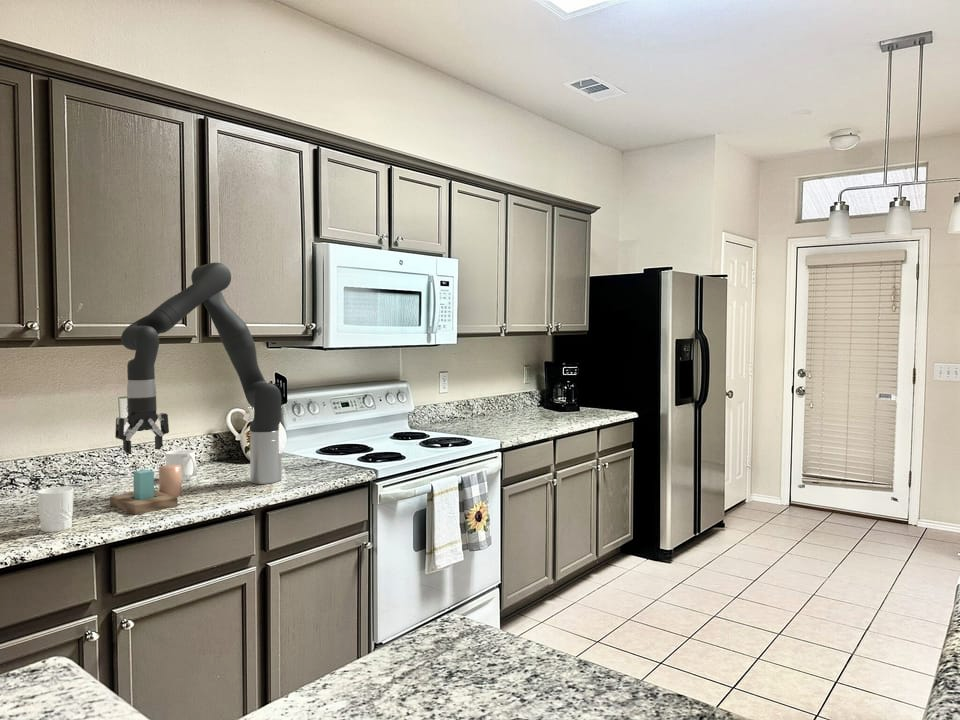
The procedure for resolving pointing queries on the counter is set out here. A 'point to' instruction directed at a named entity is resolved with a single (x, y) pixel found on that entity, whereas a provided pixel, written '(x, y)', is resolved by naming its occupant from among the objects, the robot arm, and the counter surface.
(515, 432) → the counter surface
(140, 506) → the board
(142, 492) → the square peg
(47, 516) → the white cup
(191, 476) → the mug
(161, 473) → the round peg
